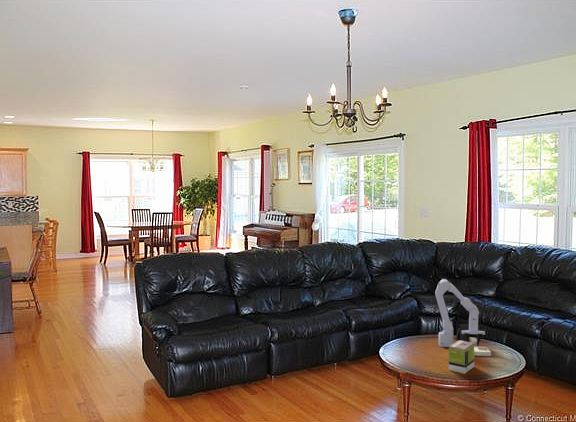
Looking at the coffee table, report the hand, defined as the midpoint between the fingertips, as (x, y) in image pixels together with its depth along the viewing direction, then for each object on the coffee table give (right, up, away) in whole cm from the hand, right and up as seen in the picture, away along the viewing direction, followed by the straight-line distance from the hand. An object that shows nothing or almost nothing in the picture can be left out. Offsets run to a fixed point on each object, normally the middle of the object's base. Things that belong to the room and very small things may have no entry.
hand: (472, 344), depth 355 cm
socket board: (-2, -2, -12) cm, 12 cm away
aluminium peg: (0, -2, 0) cm, 2 cm away
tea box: (-20, -4, -40) cm, 45 cm away
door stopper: (-3, -1, +13) cm, 13 cm away
